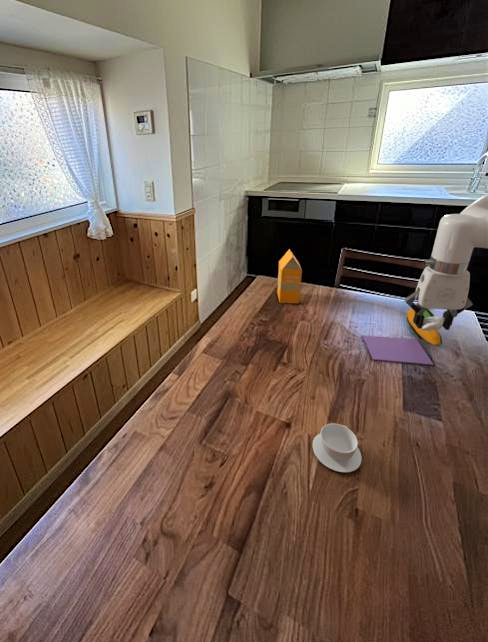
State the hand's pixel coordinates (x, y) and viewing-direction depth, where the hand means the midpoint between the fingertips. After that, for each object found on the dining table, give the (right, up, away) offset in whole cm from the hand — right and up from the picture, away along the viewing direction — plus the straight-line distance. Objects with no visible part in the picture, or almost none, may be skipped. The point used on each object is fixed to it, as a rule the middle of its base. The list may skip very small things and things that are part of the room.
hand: (431, 325), depth 90 cm
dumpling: (0, -1, 0) cm, 1 cm away
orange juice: (-24, +4, +48) cm, 54 cm away
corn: (+12, -6, +21) cm, 25 cm away
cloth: (-1, -10, +14) cm, 17 cm away
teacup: (-33, -26, -16) cm, 44 cm away
